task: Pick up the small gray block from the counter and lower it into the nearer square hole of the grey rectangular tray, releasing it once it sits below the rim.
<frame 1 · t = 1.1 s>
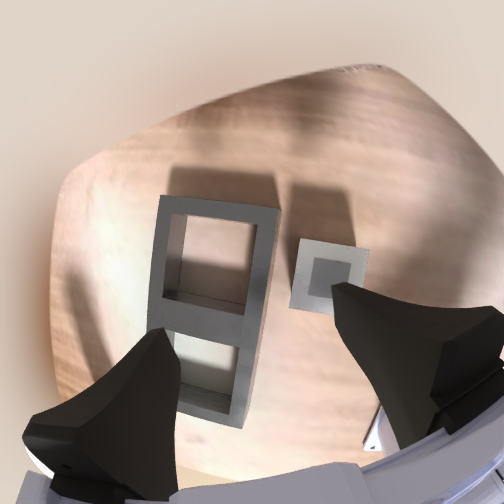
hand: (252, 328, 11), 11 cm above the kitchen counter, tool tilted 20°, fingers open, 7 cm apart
gray block: (324, 271, 22), on the kitchen counter
grey rectangular tray: (211, 312, 23), on the kitchen counter
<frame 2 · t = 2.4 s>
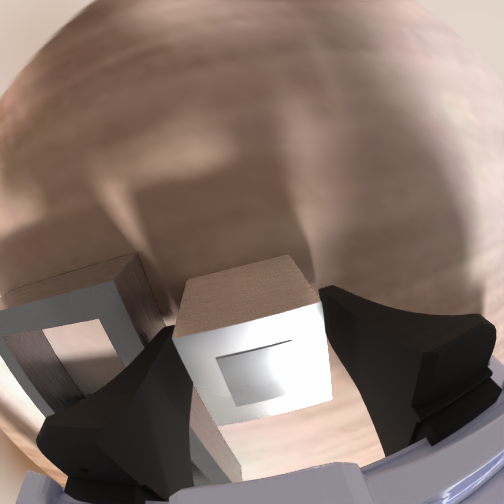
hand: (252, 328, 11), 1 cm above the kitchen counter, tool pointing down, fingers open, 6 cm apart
gray block: (249, 310, 13), on the kitchen counter
grey rectangular tray: (132, 406, 14), on the kitchen counter
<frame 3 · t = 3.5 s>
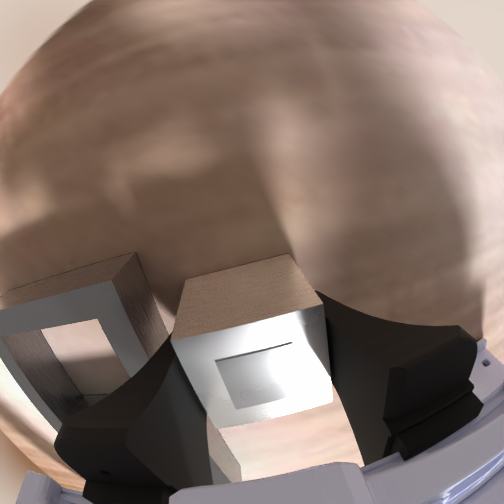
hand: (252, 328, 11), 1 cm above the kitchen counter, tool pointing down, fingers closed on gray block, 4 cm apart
gray block: (248, 311, 13), on the kitchen counter, touching gripper
grey rectangular tray: (131, 406, 14), on the kitchen counter
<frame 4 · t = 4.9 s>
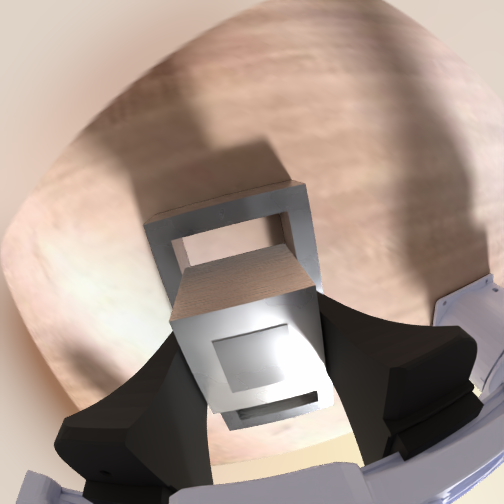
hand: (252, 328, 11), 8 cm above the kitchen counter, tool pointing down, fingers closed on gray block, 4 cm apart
gray block: (246, 299, 13), point 6 cm above the kitchen counter, touching gripper
grey rectangular tray: (254, 317, 20), on the kitchen counter
when the fingers open (4 cm above the kitchen counter, at t = 6.5 s): gray block drops 2 cm, resting in grey rectangular tray.
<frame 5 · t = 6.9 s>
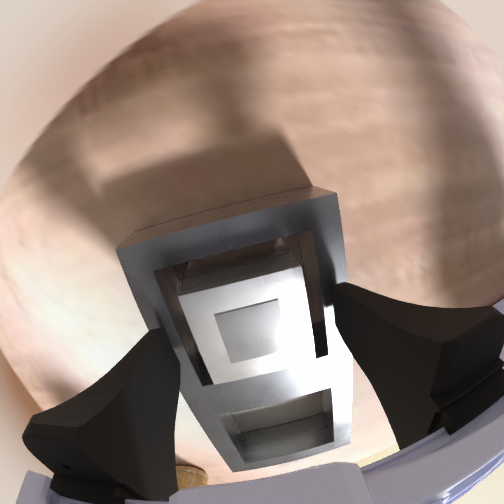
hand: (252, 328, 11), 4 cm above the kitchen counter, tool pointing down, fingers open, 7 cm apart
gray block: (244, 284, 15), resting in grey rectangular tray
grey rectangular tray: (262, 354, 16), on the kitchen counter
sprinkles bottle: (186, 471, 21), on the kitchen counter
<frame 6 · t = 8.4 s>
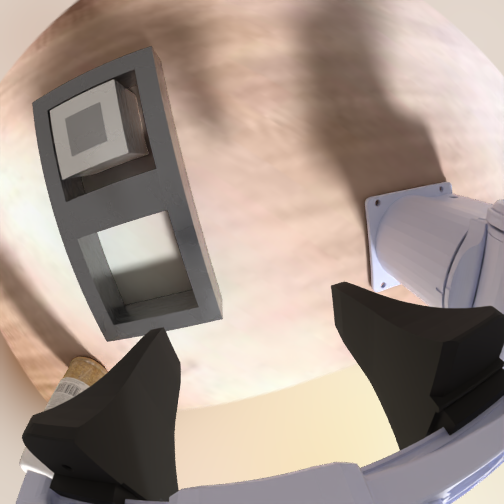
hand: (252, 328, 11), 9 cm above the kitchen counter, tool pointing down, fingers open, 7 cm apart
gray block: (113, 134, 17), resting in grey rectangular tray
grey rectangular tray: (127, 198, 18), on the kitchen counter
sprinkles bottle: (91, 371, 23), on the kitchen counter
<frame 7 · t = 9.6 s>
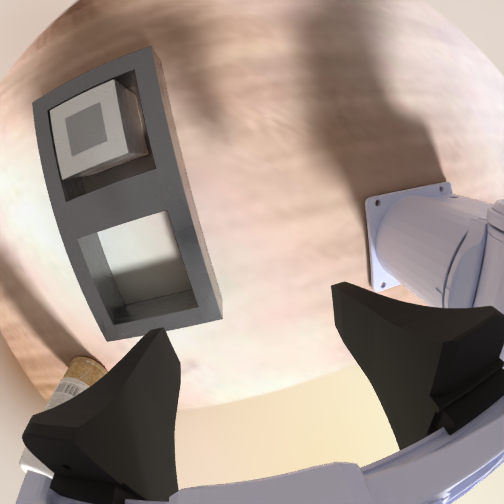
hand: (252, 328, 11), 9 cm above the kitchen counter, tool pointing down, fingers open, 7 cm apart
gray block: (113, 134, 17), resting in grey rectangular tray
grey rectangular tray: (127, 198, 18), on the kitchen counter
sprinkles bottle: (91, 371, 23), on the kitchen counter
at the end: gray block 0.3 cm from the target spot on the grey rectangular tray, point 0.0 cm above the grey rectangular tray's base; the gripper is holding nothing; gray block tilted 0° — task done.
